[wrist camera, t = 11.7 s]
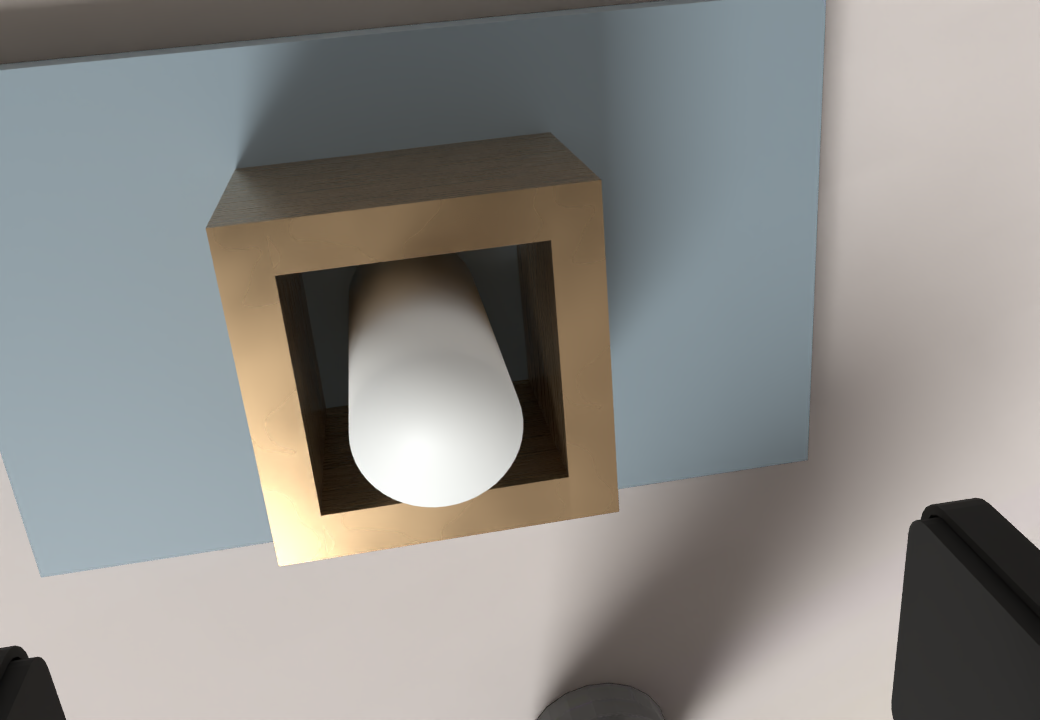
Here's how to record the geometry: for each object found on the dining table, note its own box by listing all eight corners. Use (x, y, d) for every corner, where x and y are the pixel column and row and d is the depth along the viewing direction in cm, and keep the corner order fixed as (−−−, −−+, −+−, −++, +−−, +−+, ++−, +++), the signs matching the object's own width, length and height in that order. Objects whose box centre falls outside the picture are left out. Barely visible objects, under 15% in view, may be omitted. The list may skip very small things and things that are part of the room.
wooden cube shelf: (550, 132, 23) (601, 179, 18) (570, 408, 25) (619, 511, 21) (235, 168, 22) (205, 228, 17) (291, 450, 25) (278, 566, 20)
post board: (798, -13, 24) (1018, 8, 16) (785, 435, 28) (949, 619, 21) (-91, 73, 21) (-339, 146, 14) (57, 544, 26) (-66, 797, 18)
